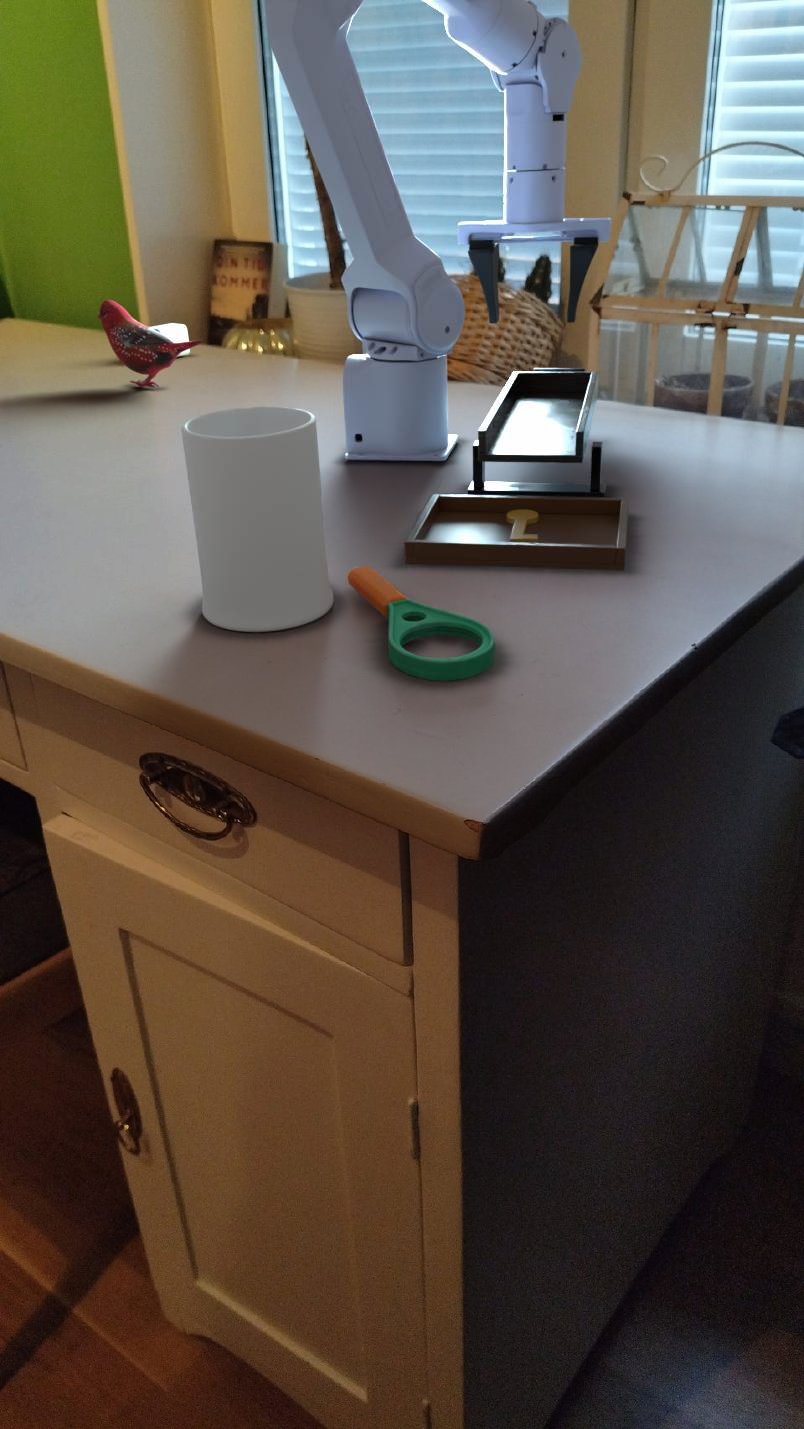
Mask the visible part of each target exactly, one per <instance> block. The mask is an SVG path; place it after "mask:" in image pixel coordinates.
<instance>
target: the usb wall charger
mask: <svg viewBox="0 0 804 1429" xmlns="http://www.w3.org/2000/svg"><path fill="white" fill-rule="evenodd" d="M149 327H150V328H152V329H154V330H156V331H158V332H159V333H161V334H162V335H164V336H165V337H167V338H168V339H170V340H171V341H172V342H173V343H180V342H187V341H190V340H189V333H188V327H187V326H186V324H184V323H183V324H182V323H176V322H170V323H165V324H159V325H153V326H149ZM190 353H191V348H190V349H188V350H185V351H183V352H181V353H180V354H179V355H178V356H177V357H176V358H178V357H182V356H188V355H189V354H190Z"/></svg>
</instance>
